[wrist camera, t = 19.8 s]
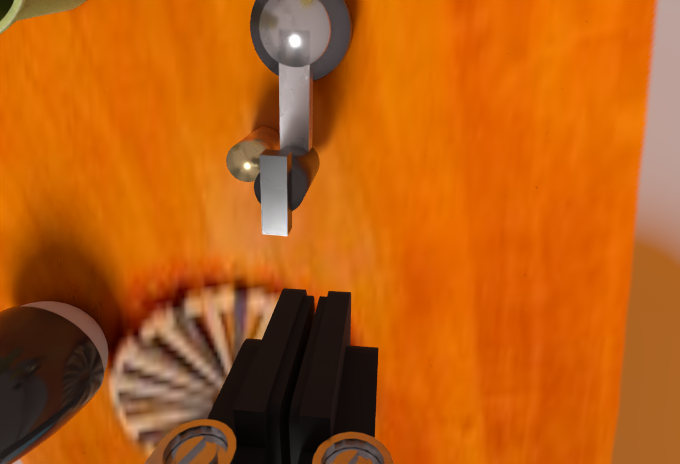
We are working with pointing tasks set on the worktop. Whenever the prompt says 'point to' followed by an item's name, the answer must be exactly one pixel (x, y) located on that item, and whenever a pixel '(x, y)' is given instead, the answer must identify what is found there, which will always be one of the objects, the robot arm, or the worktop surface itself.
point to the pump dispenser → (45, 372)
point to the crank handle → (291, 107)
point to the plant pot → (31, 9)
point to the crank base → (247, 152)
